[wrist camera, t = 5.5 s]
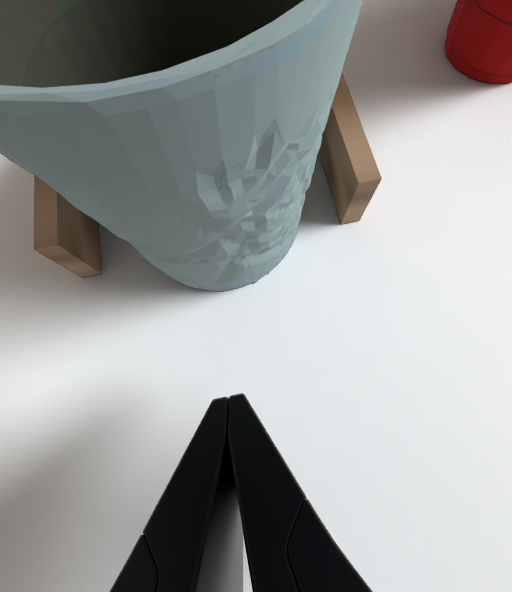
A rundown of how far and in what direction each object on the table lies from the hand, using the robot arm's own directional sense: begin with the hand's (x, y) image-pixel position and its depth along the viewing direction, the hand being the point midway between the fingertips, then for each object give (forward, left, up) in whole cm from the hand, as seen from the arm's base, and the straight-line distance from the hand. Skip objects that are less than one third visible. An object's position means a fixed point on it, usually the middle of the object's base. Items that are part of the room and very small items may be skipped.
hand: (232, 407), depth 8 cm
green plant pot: (+6, +7, -7) cm, 12 cm away
